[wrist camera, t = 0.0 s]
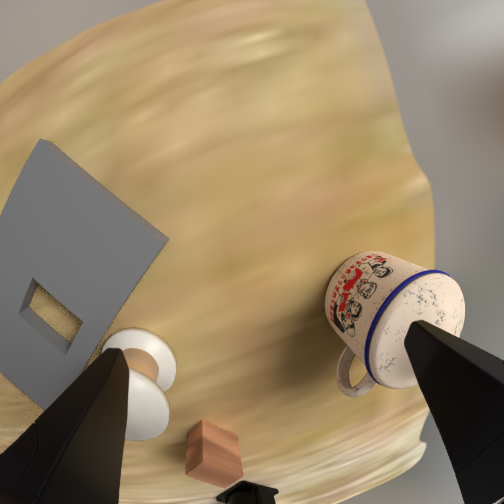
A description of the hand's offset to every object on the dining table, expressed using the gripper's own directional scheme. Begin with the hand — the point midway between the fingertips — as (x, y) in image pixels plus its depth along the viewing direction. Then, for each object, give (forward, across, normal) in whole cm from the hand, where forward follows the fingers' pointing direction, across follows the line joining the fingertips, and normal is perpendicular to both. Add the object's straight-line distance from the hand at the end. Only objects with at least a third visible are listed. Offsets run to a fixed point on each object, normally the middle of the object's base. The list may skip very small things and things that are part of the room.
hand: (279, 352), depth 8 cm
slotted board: (+14, +18, +7) cm, 24 cm away
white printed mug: (+14, -11, +10) cm, 20 cm away
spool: (+12, +9, +13) cm, 20 cm away
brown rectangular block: (+10, +3, +23) cm, 26 cm away
